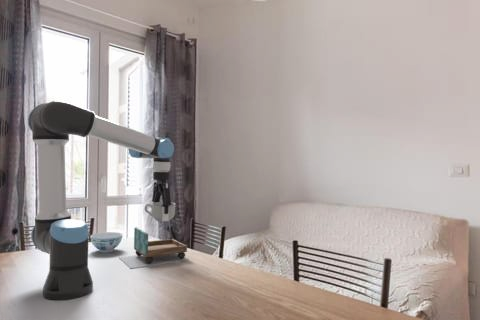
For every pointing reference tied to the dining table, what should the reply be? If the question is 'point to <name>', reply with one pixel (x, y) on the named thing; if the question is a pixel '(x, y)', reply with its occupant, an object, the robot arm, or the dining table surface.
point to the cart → (156, 246)
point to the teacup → (160, 210)
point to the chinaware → (106, 241)
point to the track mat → (157, 260)
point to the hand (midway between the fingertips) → (160, 219)
